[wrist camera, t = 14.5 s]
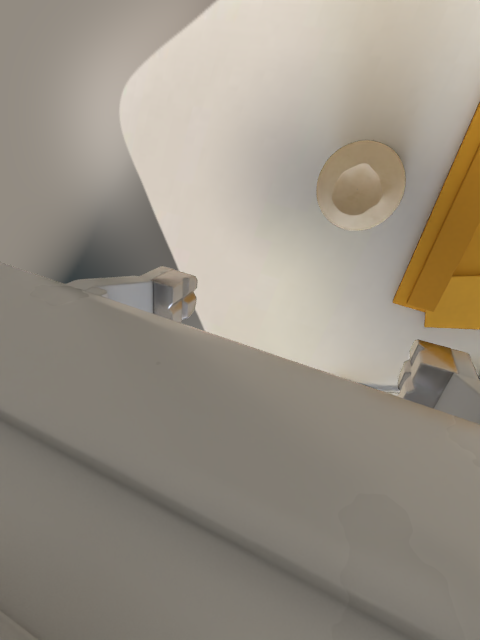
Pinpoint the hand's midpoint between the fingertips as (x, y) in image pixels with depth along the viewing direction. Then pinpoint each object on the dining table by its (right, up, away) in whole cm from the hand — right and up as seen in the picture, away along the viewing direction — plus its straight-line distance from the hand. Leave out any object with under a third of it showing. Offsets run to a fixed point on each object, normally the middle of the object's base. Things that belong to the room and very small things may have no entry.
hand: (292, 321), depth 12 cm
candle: (+9, +12, +17) cm, 23 cm away
